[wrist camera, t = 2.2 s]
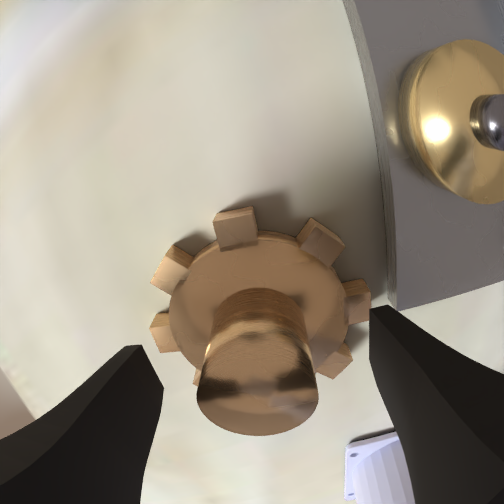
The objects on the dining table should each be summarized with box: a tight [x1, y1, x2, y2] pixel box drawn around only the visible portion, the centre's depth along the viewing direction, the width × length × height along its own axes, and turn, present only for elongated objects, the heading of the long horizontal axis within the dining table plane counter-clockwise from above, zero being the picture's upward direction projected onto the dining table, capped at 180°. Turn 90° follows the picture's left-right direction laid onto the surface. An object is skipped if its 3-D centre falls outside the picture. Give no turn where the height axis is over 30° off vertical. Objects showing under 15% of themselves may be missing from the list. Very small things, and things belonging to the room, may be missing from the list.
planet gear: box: [149, 206, 371, 436], centre depth 10 cm, size 8×8×4 cm
